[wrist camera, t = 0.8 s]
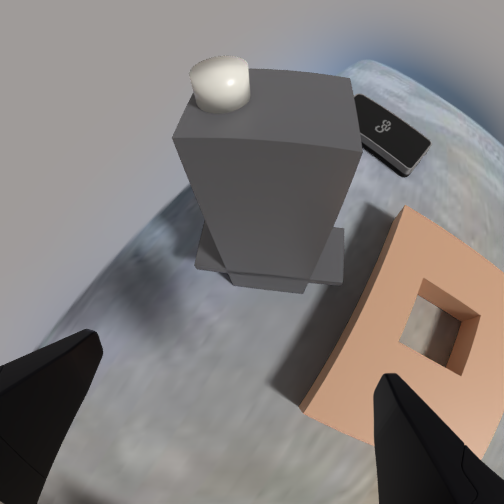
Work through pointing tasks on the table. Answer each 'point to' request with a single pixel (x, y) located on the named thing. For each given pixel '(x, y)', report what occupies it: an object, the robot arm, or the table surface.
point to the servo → (269, 171)
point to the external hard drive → (389, 136)
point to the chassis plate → (407, 360)
